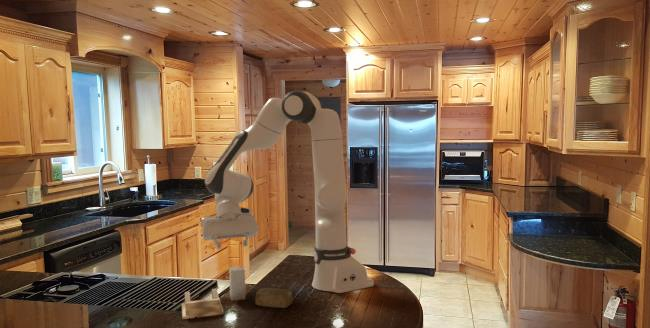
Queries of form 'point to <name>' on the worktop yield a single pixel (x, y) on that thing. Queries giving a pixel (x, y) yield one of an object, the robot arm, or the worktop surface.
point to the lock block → (237, 283)
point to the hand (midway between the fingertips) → (232, 246)
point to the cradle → (201, 306)
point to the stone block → (274, 297)
